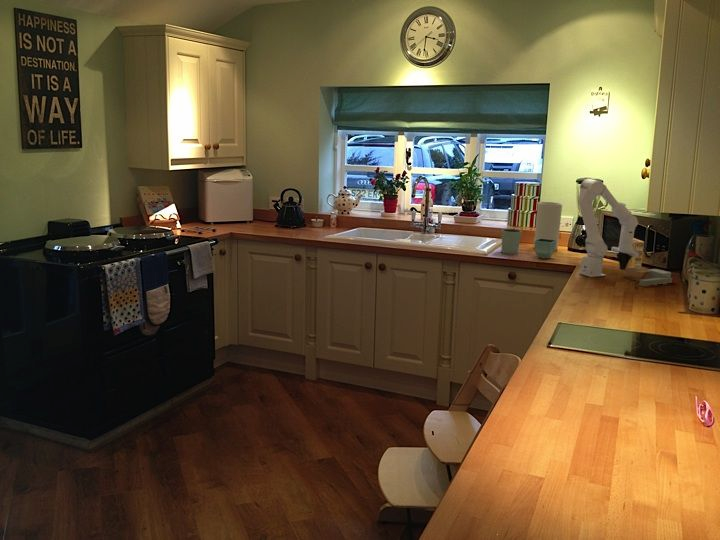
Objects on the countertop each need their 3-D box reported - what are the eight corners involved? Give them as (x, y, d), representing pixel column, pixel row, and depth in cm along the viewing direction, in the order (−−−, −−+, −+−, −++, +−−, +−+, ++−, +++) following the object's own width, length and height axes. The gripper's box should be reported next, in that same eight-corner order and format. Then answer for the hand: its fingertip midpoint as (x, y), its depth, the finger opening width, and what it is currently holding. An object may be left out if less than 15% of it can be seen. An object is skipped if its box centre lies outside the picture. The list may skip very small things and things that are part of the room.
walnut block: (640, 282, 312) (641, 272, 311) (625, 278, 319) (626, 268, 318) (648, 281, 315) (650, 271, 314) (634, 277, 322) (635, 267, 321)
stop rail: (643, 286, 303) (644, 280, 303) (638, 285, 305) (639, 279, 305) (671, 283, 311) (672, 278, 311) (667, 282, 313) (668, 276, 313)
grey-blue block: (661, 283, 312) (662, 273, 311) (646, 279, 319) (647, 269, 318) (669, 282, 315) (671, 272, 314) (654, 278, 322) (655, 268, 321)
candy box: (640, 273, 329) (645, 241, 326) (632, 273, 329) (636, 241, 325) (631, 269, 338) (635, 238, 335) (623, 269, 337) (627, 237, 334)
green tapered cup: (522, 252, 367) (524, 230, 364) (515, 255, 358) (517, 232, 356) (503, 250, 372) (505, 227, 369) (496, 252, 364) (498, 230, 361)
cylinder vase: (532, 246, 387) (536, 201, 381) (555, 247, 386) (560, 202, 380) (535, 250, 375) (540, 204, 369) (559, 252, 373) (564, 205, 368)
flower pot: (532, 257, 355) (534, 240, 353) (538, 255, 363) (539, 238, 361) (549, 260, 351) (551, 242, 349) (554, 257, 358) (556, 240, 356)
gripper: (645, 242, 317) (641, 272, 320) (620, 237, 329) (616, 265, 332) (634, 243, 314) (630, 273, 317) (609, 237, 326) (605, 266, 329)
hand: (622, 269), depth 324 cm, fingers closed
